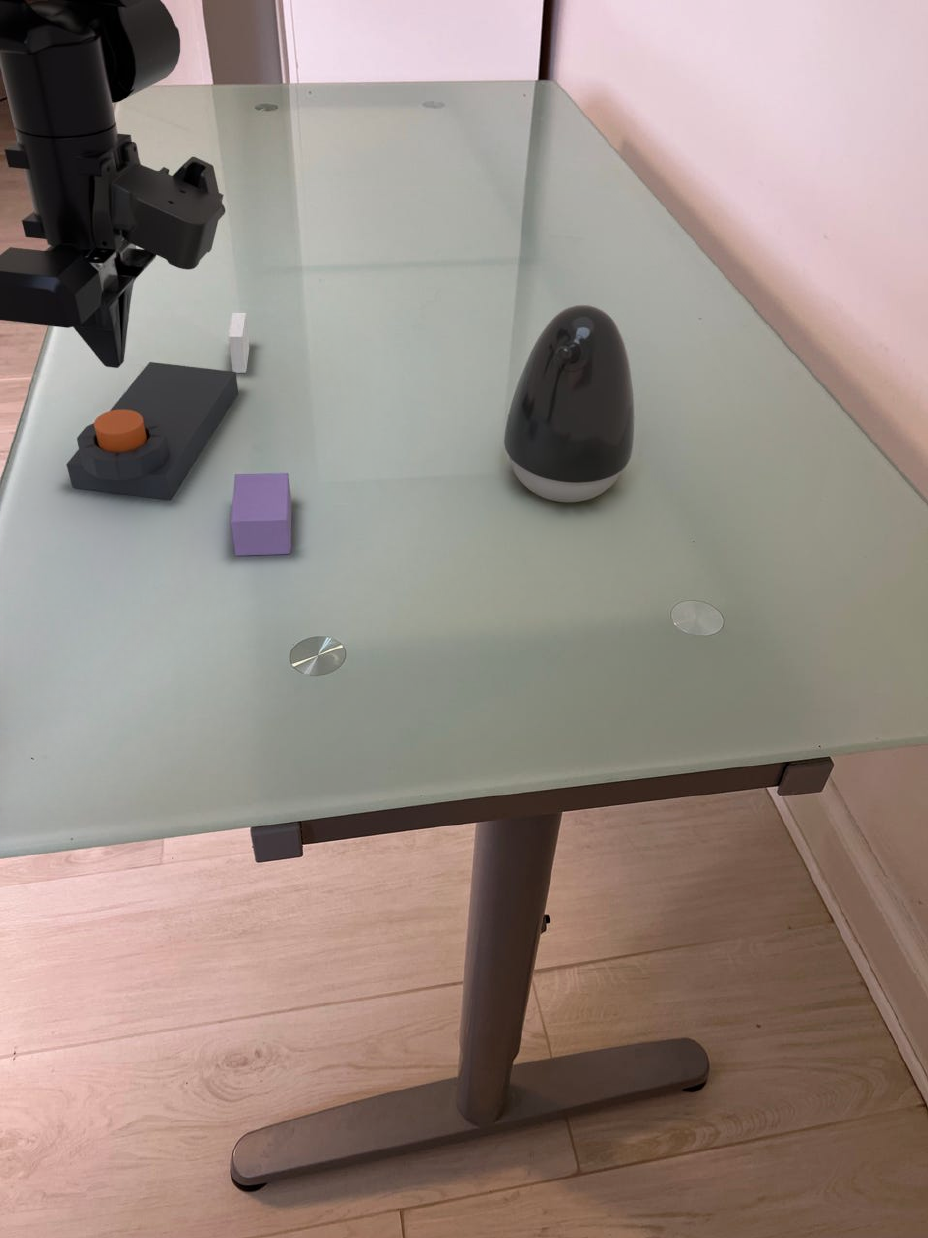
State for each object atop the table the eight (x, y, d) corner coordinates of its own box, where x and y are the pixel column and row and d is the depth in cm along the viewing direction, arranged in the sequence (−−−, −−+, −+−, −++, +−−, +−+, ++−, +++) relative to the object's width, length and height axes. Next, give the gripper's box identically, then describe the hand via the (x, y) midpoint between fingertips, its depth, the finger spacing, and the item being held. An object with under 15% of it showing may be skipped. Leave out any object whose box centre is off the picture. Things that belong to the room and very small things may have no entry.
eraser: (232, 372, 92) (228, 336, 90) (236, 348, 96) (232, 312, 93) (246, 372, 92) (242, 336, 90) (249, 348, 96) (246, 312, 94)
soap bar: (290, 554, 73) (287, 519, 71) (235, 556, 72) (230, 521, 70) (291, 506, 77) (288, 472, 75) (239, 508, 77) (234, 473, 75)
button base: (164, 509, 76) (156, 465, 73) (65, 496, 77) (53, 452, 74) (238, 393, 90) (233, 352, 87) (153, 383, 90) (146, 342, 87)
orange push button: (136, 456, 75) (132, 436, 74) (90, 450, 75) (85, 430, 74) (154, 431, 78) (150, 412, 76) (110, 426, 78) (105, 406, 77)
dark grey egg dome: (481, 501, 79) (494, 322, 69) (524, 438, 86) (542, 268, 76) (604, 535, 76) (636, 354, 66) (637, 467, 84) (671, 295, 73)
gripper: (136, 188, 51) (179, 448, 61) (245, 95, 65) (265, 320, 75) (-69, 167, 52) (7, 428, 62) (82, 79, 66) (124, 304, 76)
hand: (114, 365), depth 69 cm, fingers closed
